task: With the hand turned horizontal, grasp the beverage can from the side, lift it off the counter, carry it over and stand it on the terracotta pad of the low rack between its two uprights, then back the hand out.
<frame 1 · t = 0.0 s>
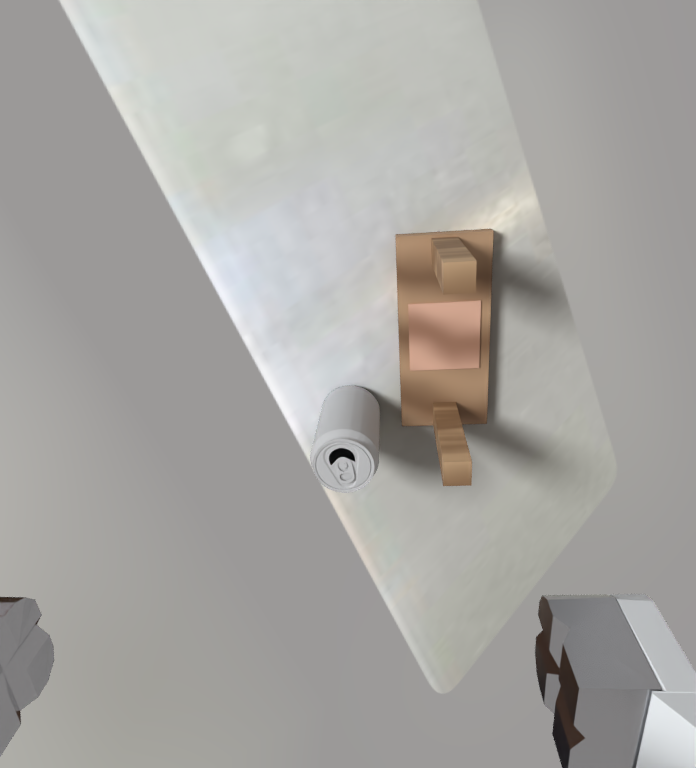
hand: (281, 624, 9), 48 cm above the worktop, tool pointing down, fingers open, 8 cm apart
beverage can: (351, 408, 61), on the worktop
rack: (442, 331, 56), on the worktop
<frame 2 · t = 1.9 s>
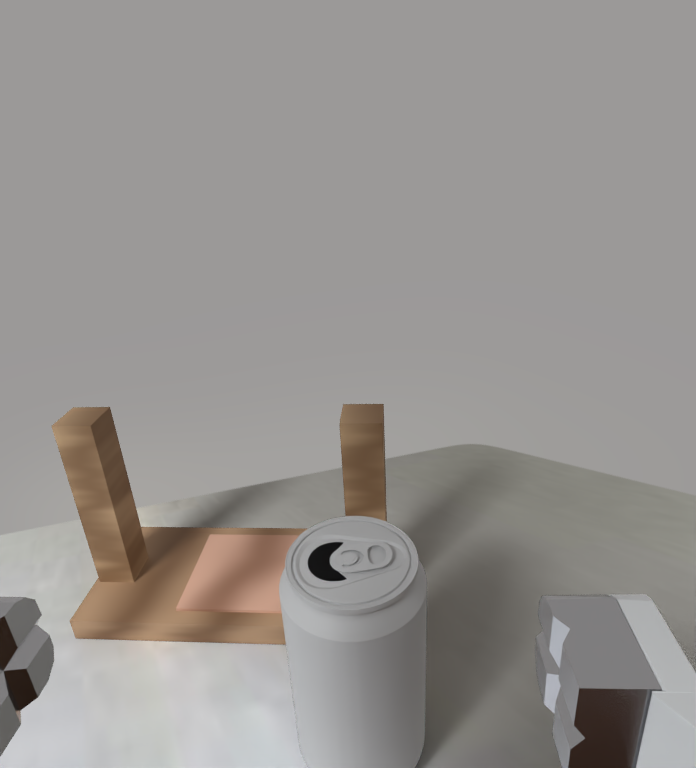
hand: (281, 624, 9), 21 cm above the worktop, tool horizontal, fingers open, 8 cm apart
beverage can: (362, 740, 28), on the worktop
rack: (247, 588, 38), on the worktop
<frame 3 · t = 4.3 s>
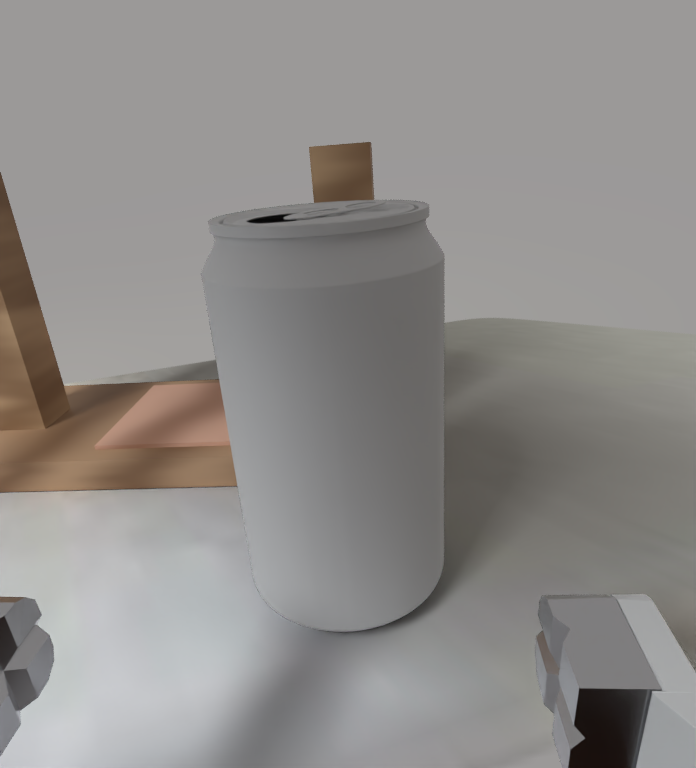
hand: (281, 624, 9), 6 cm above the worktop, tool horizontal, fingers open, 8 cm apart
beverage can: (350, 577, 19), on the worktop
rack: (199, 438, 29), on the worktop
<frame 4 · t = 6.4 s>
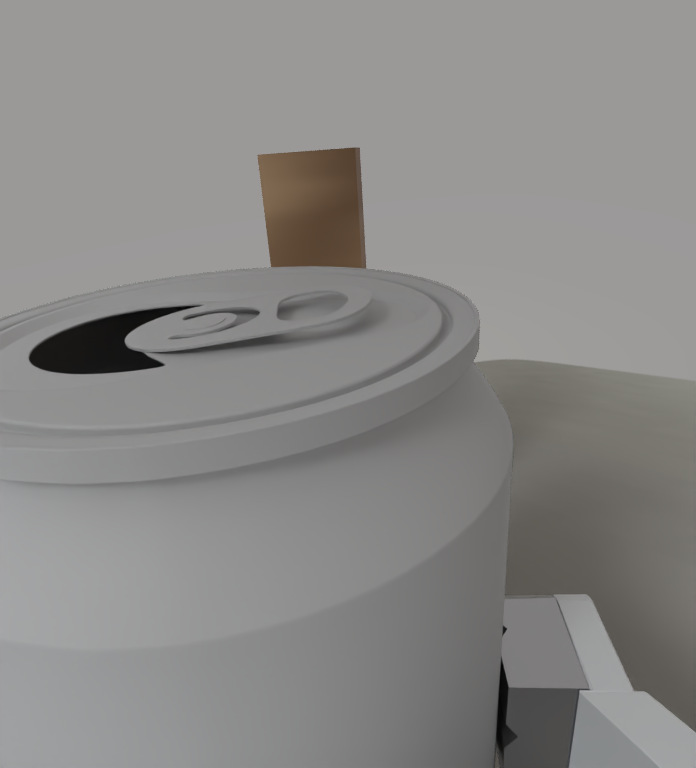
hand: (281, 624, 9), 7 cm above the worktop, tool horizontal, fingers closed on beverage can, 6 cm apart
rack: (120, 560, 20), on the worktop
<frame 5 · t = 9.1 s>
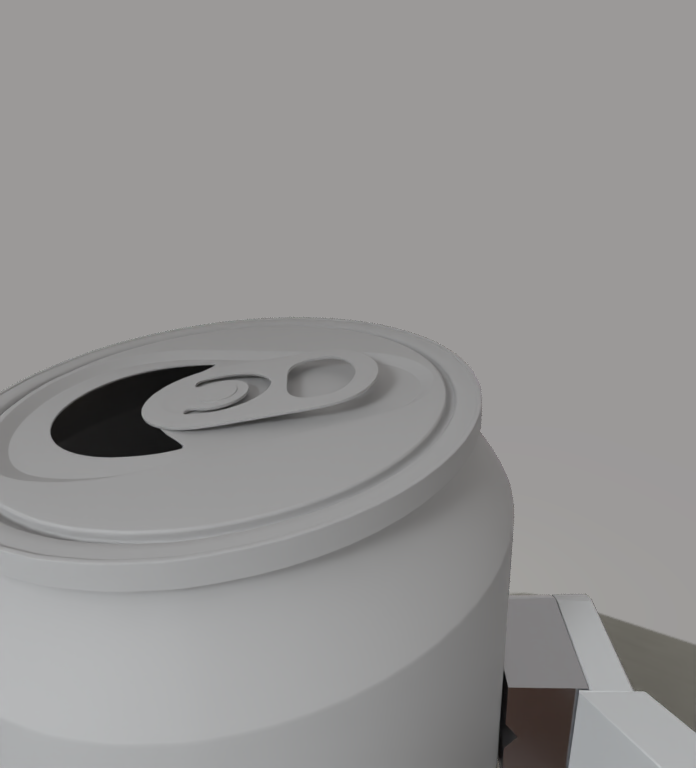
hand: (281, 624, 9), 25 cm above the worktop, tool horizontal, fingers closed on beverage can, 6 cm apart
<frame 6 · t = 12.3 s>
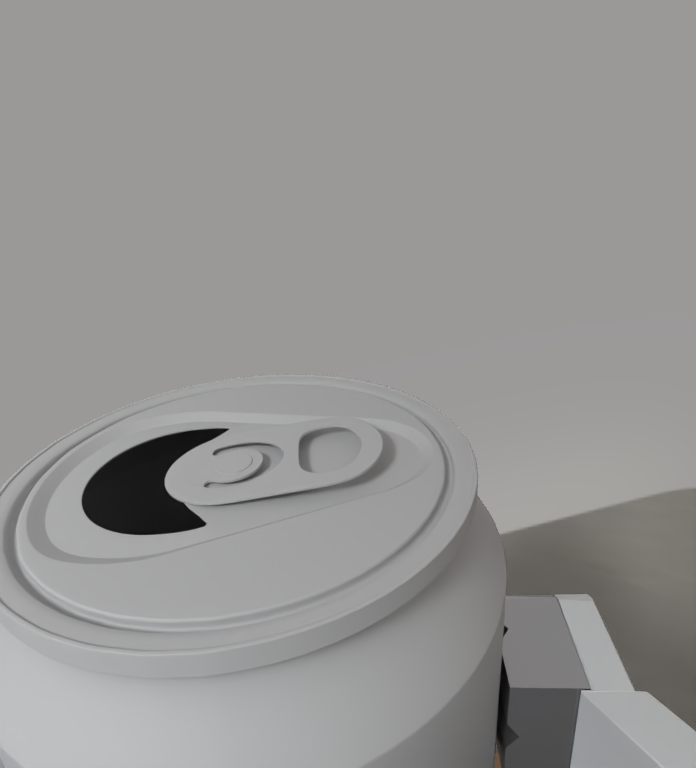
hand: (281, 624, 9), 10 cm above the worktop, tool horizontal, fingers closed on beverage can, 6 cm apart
when the fingers open (10 cm above the worktop, at t = 13.0 s): beverage can stays where it is, resting on rack.
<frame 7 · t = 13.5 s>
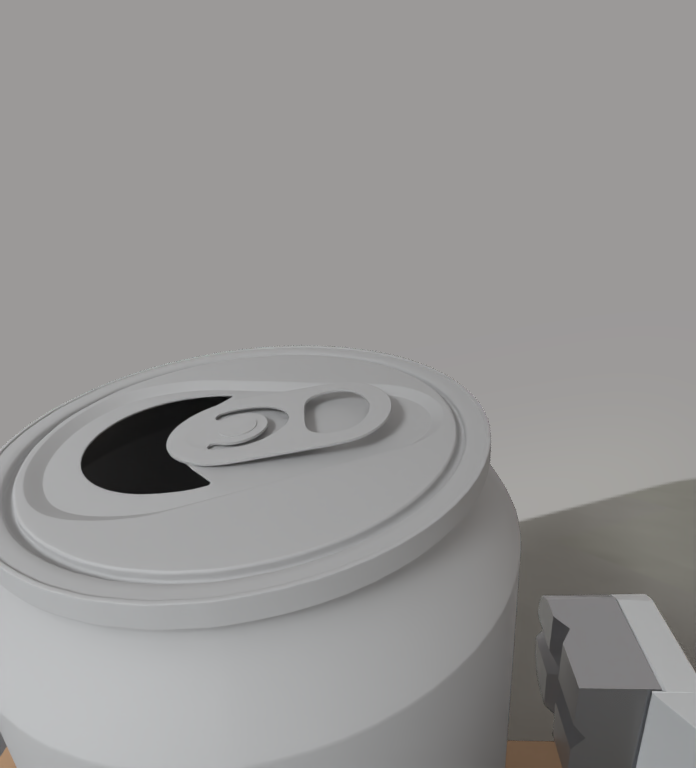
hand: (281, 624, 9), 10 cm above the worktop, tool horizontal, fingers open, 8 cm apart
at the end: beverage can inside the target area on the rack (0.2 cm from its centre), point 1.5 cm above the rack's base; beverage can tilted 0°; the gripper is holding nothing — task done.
